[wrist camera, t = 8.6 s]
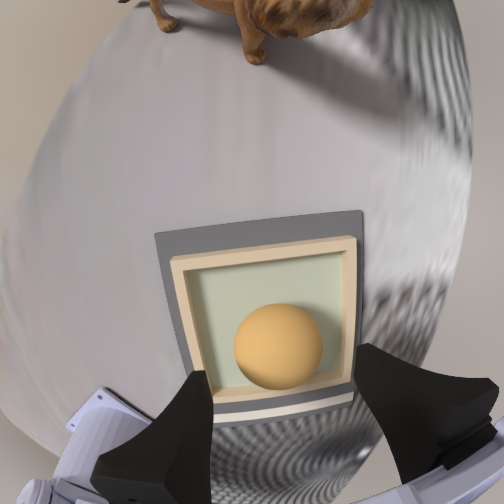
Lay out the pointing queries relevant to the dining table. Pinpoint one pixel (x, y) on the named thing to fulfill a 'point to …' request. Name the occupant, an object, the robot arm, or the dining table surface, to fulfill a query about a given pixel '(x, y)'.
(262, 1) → the lion figurine
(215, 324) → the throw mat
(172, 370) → the dining table surface
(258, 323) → the ball
